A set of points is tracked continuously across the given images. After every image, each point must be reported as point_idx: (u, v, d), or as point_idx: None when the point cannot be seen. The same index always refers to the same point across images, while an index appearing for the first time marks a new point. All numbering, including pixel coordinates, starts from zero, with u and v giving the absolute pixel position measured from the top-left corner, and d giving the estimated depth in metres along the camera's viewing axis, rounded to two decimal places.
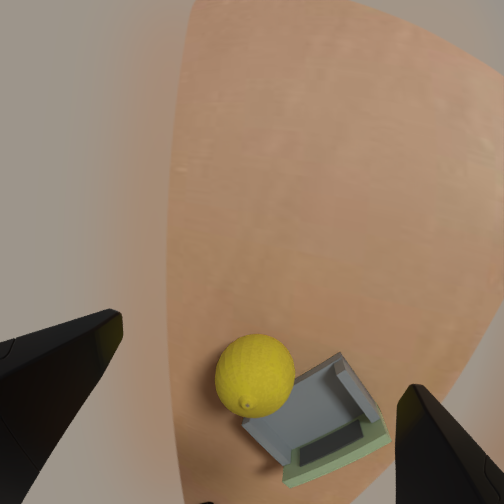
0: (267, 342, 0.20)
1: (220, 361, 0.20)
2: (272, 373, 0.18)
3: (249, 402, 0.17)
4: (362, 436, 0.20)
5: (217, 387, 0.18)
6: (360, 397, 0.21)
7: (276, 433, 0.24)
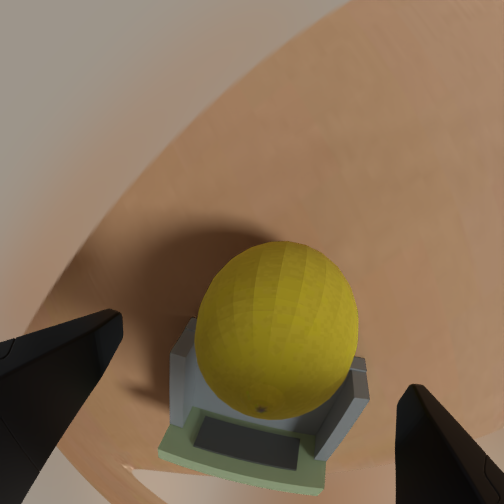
0: (354, 301, 0.10)
1: (262, 268, 0.09)
2: (341, 375, 0.08)
3: (270, 409, 0.07)
4: (294, 469, 0.14)
5: (220, 317, 0.08)
6: (340, 433, 0.14)
7: (195, 380, 0.17)
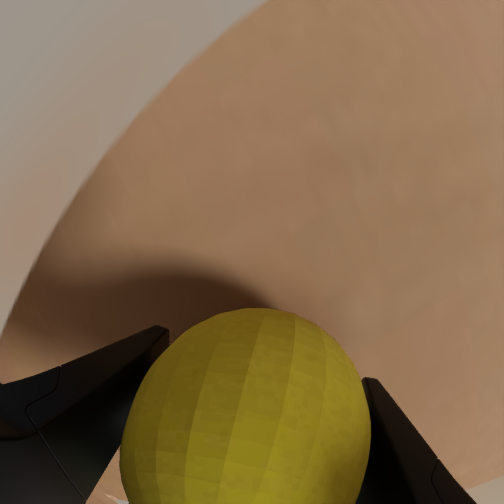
0: (367, 411, 0.05)
1: (209, 390, 0.05)
2: None
3: None
4: None
5: (138, 466, 0.04)
6: None
7: None
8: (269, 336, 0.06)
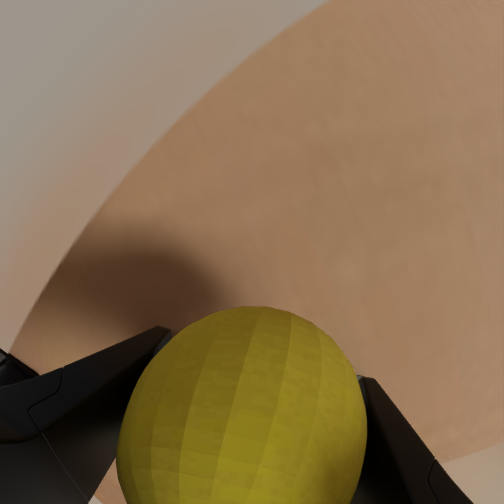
0: (363, 410, 0.06)
1: (203, 387, 0.05)
2: None
3: None
4: None
5: (134, 462, 0.04)
6: None
7: None
8: (264, 334, 0.06)
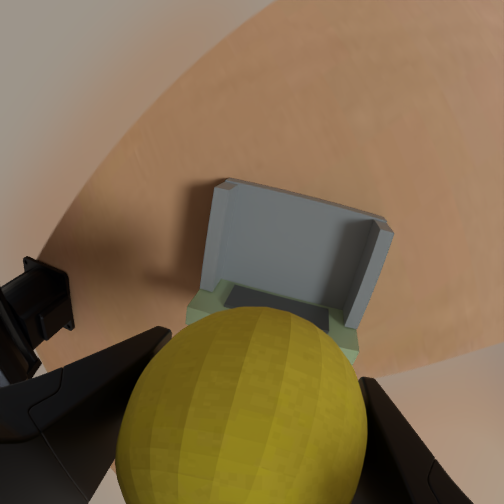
0: (364, 410, 0.05)
1: (203, 387, 0.05)
2: None
3: None
4: (327, 331, 0.17)
5: (133, 463, 0.04)
6: (370, 282, 0.16)
7: (228, 241, 0.19)
8: (264, 334, 0.06)
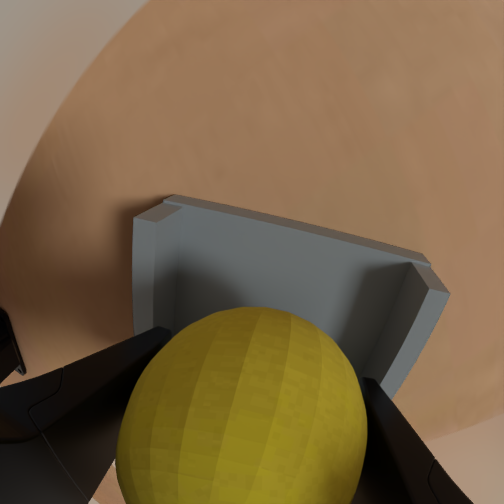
0: (364, 411, 0.05)
1: (203, 388, 0.05)
2: None
3: None
4: None
5: (133, 463, 0.04)
6: (402, 368, 0.09)
7: (176, 296, 0.12)
8: (264, 334, 0.06)
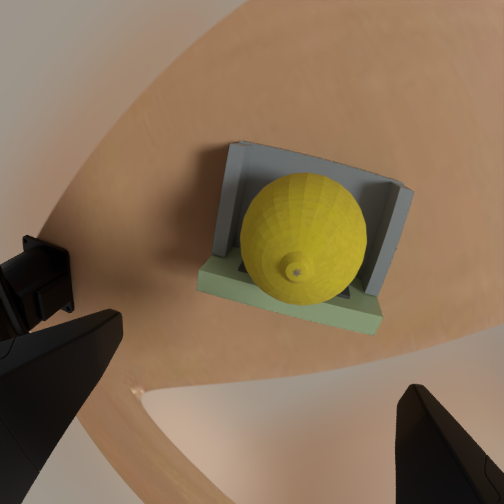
0: None
1: (293, 180, 0.12)
2: (355, 257, 0.11)
3: (304, 271, 0.10)
4: (348, 297, 0.16)
5: (264, 209, 0.11)
6: (391, 243, 0.15)
7: (242, 205, 0.18)
8: (313, 173, 0.13)
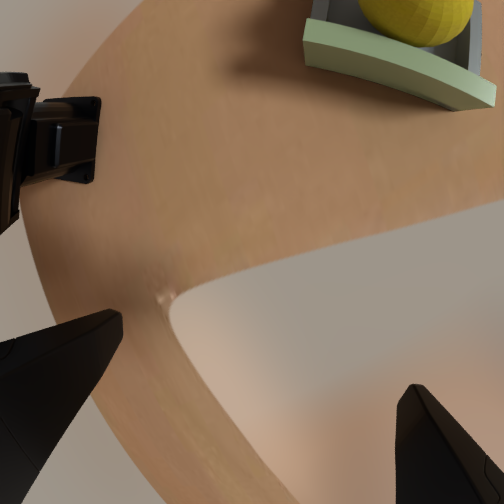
0: None
1: None
2: None
3: None
4: None
5: None
6: (477, 38, 0.10)
7: (329, 8, 0.13)
8: None
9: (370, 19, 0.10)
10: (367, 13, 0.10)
